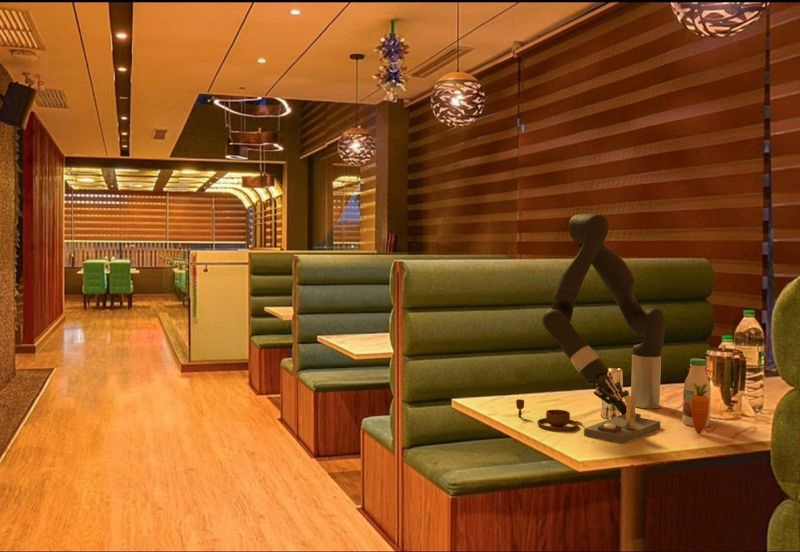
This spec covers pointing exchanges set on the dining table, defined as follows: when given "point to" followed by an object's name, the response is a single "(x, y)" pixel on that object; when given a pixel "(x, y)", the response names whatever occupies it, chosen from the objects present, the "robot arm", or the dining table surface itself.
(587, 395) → the dining table surface
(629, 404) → the block
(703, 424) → the carrot
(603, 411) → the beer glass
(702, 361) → the milk bottle
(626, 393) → the toggle lever
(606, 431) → the switch panel
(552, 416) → the place setting
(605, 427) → the push button
